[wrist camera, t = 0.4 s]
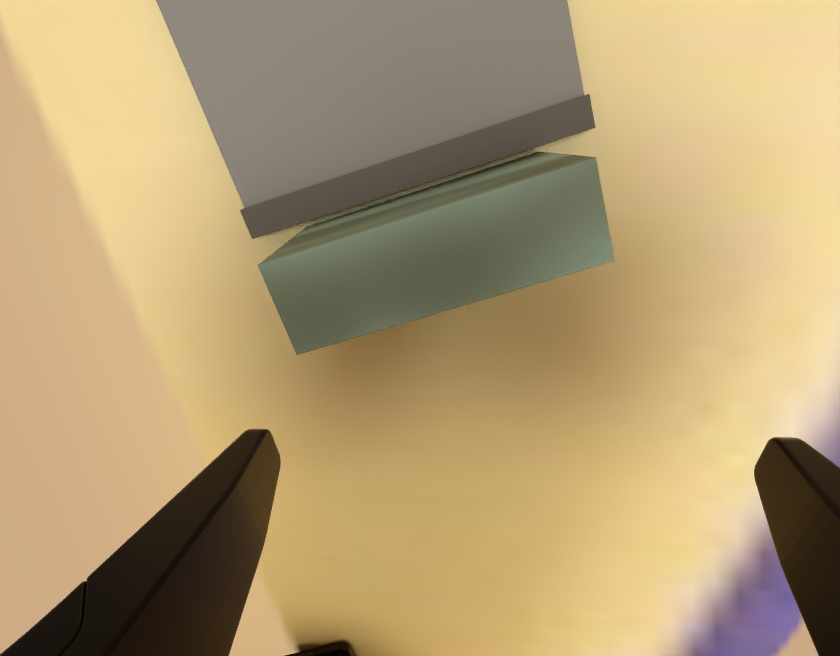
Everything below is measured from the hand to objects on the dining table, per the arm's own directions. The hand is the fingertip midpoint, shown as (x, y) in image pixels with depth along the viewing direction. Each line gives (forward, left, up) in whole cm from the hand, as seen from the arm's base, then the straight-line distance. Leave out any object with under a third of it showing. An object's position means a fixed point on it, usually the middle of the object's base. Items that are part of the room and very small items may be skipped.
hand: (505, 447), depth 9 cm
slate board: (+10, 0, -13) cm, 17 cm away
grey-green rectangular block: (+2, 0, -13) cm, 14 cm away
